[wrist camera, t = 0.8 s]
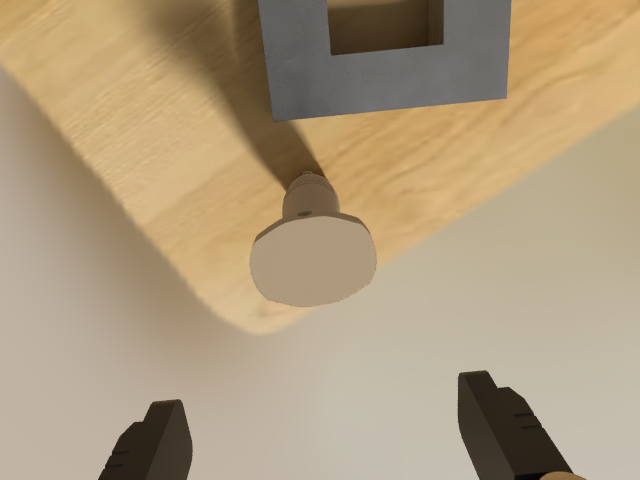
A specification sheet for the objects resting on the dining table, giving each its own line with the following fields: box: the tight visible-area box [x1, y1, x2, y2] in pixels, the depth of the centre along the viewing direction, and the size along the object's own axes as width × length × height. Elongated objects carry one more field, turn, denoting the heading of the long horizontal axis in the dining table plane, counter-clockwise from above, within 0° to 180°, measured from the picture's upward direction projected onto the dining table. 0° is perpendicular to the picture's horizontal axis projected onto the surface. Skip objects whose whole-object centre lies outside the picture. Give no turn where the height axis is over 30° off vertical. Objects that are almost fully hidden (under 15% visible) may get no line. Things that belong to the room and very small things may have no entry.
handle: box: [250, 171, 377, 307], centre depth 30 cm, size 5×6×15 cm
